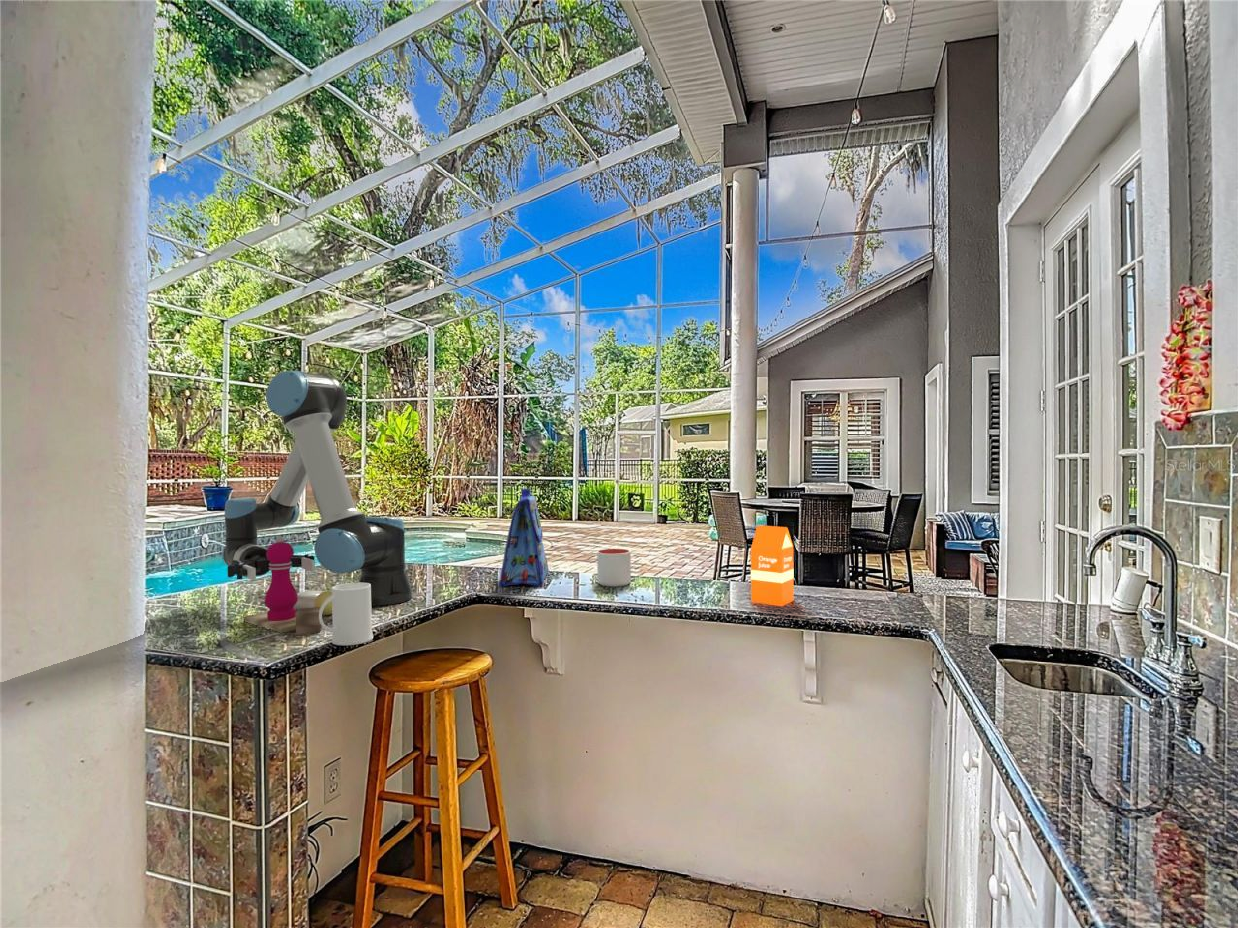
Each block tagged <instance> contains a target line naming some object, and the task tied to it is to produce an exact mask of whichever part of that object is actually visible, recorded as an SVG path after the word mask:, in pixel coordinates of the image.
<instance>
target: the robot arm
mask: <svg viewBox="0 0 1238 928" xmlns="http://www.w3.org/2000/svg"><path fill="white" fill-rule="evenodd" d="M266 387H267V388H266V391H265V402H266V406H267V407H268V409H269V411H271V412H272V413H274V414H275V415H276V416H278V417H281V420H282V423H283V425H284V427H285V429H286V430H289V431H291V432H292V433H293V435H294V439H295V443H294V444H293V447H292V449H291V451H290V453H289V455H288V457H287V459H286V461H285V463H284V465H283V468H282V469H281V472H280V474H279V476H278V477H277V479H276V482H275V484H274V486H273V488H272V490H271V493H270V495H269V496H268V498H267V500H266V502H261V503H257V500H256V499H255V498H253V497H241V498H239V497H238V498H229V499H227V500H226V501H225V504H224V505H225V506H224V520H225V521H224V525H225V546H224V547H223V549H222V551H221V559H222V561H223V563H224V564H225V565H227V568H226V569H227V578H233V577H235V576H236V579H237V580H243V578H246V579H249V580H252V581H254V580H255V581H256V580H257V577H259V576H260V577H261V576H263V575H265V574H267V573H269V572H271V570H270V569H269V566H270V565H269V563H271V562H270V561H269V560H268V558H267V556H266V552H267V549H268V547H263V546H260V545H259V544H258V532H259V531H265V530H270V529H275V528H283V527H287V526H291V525H293V524H295V523H296V522H297V521H298V520H299V516H300V513H299V512H300V508H299V506H298V502H299V500H300V498H301V497H302V495H303V492H304V490H305V488H306V486H307V484H308V482H309V484H310V487H311V491H312V494H313V497H314V500H315V503H316V507H317V510H318V512H319V515H320V518H321V519H320V522H319V524H318V526H317V530H318V533H319V534H318V536H317V537H316V539H315V542H316V543H315V544H314V546H313V547H314V553H315V554H314V555H309V554H308V553H307V554H304V555H300V554H298V555H297V554H294V555H293V557H292V558H291V560H290V561H291V562H292V563H291V565H292V567H291V568H301V569H303V570H306V571H309V572H316V562H315V561H316V560H315V557H316V559H317V562H318V563H319V564H320V566H322V567H323V569H325V570H326V571H328V572H331V573H333V574H339V575H340V574H350V573H354V572H356V571H358V570H360V575H359V579H358V582H361V583H369V584H371V607H373V606H374V607H375V606H388V605H389V606H390V605H394V604H395V605H396V604H400V603H404V602H405V603H406V601H409V600H411V599H413V588H412V586H411V583H410V580H409V577H408V574H407V572H406V551H405V547H406V545H405V533H406V531H405V523H404V520H403V519H402V518H400V517H385V516H382V517H380V516H379V517H377V516H365V513H364V512H362V511H360V510H358V509H357V507H356V505H355V502H354V499H353V496H352V493H351V490H350V486H349V483H348V481H347V477H346V475H345V471H344V468H343V466H342V462H341V458H340V456H339V454H338V450H337V447H336V443H335V441H334V438H333V435H332V434H333V432H334V431H338V430H339V428H340V426H341V425H342V423H343V421H344V418H345V414H346V411H347V407H348V406H347V405H348V397H347V393H346V390H345V387H344V385H342V383H341V382H340V381H339V380H338V379H337V378H335V377H333V376H330V375H328V374H322V373H320V374H319V373H313V372H312V373H311V372H304V371H301V370H284V371H280V372H279V373H277V374H275V375H274V376H273V377H272V378H271V379H270V381H269V385H268V386H266Z"/></svg>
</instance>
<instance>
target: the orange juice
mask: <svg viewBox="0 0 1238 928" xmlns="http://www.w3.org/2000/svg"><path fill="white" fill-rule="evenodd" d="M794 570H795V569H794V544H793V541H792V539H791V535H790V531H789V529H788V527H787V526H776V525H775V526H774V525H773V526H772V525H762V524H761V525H759V524H758V525H757V526H756V529H755V533H754V536H753V539H752V544H751V547H750V592H751V593H750V595H751V596H750V599H751V600H750V601H751V603H757V604H764V605H772V606H778V607H783V606H785V605H788V604H790V603H791V602H793V601H794V600H795V599H794V596H795V595H794V590H795V589H794V588H795V587H794V583H795V582H794V578H795V577H794V576H795V575H794V573H795V572H794Z"/></svg>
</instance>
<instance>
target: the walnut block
mask: <svg viewBox="0 0 1238 928" xmlns="http://www.w3.org/2000/svg"><path fill="white" fill-rule="evenodd" d="M320 608H321V607H313V608H302V609H297V610H296V614H295V616H296V630H295V636H300V635H303V634H304V635H312V634H321V630H322V625H321V624H320V621H319V611H320ZM304 635H303V636H304Z"/></svg>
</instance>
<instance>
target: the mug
mask: <svg viewBox="0 0 1238 928" xmlns="http://www.w3.org/2000/svg"><path fill="white" fill-rule="evenodd" d="M331 592H332V596H330V597H329V598H327V599H326V600H325V601H324V603H323V604H322V606H321V608H320V611H319V621H320V624H321V628H323V629H324V630H325V631H327V632H329V633H332V639H331V643H332V644H333V645H335V646H355V645H361V644H366V643H368V642H370V641H372V640H373V638H374V634H373V620H372V606H371V584H369V583H361V582H359V581H357V582H347V583H341V584H336V585H334V586H332V587H331ZM330 601H332V614H331V617H332V627H330V626H327V625H326V624H325V622H324V621H323V615H322V612H323V609H324V607H325V606H326V605H327V604H328V603H329V602H330Z"/></svg>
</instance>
